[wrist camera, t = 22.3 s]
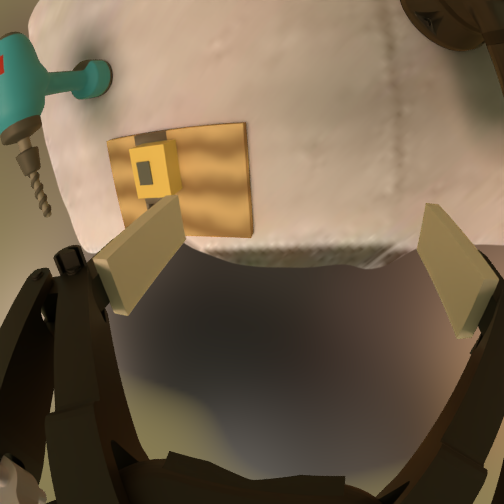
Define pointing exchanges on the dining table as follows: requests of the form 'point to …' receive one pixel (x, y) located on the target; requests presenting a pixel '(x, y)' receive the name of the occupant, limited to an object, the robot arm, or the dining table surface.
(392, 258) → the dining table surface
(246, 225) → the subfloor panel
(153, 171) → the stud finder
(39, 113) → the power drill
